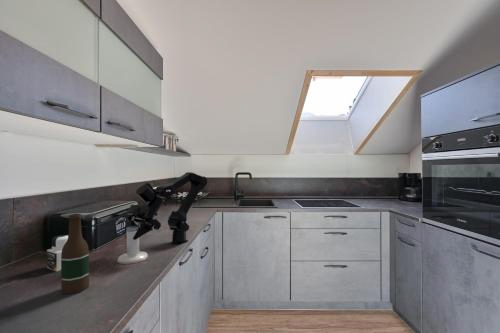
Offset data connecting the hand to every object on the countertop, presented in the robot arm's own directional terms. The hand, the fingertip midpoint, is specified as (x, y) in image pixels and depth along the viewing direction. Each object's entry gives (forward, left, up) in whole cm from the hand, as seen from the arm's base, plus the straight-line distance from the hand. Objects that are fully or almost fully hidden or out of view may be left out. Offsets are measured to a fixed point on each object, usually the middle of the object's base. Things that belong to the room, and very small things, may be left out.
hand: (130, 238), depth 105 cm
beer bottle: (+25, +6, -9) cm, 27 cm away
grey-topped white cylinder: (-1, 0, -7) cm, 7 cm away
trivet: (-1, 0, -9) cm, 9 cm away
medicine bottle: (+17, -18, -9) cm, 26 cm away
